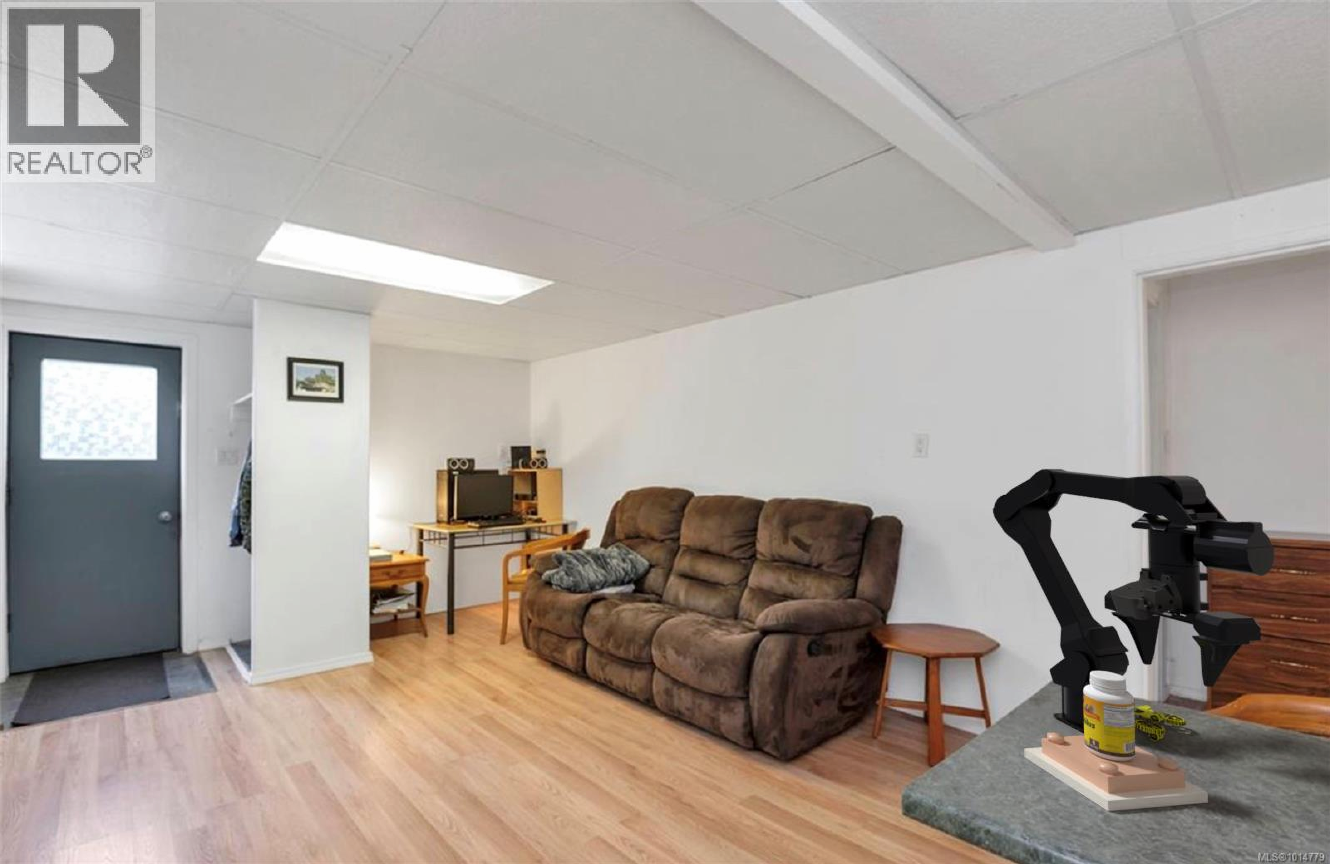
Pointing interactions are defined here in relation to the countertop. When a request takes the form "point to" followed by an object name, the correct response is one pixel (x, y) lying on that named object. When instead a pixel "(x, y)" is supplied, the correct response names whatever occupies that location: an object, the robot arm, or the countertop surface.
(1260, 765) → the countertop surface
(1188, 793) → the tower base
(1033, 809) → the countertop surface
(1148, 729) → the toy motorcycle
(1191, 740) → the countertop surface
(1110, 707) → the supplement bottle
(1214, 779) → the countertop surface
